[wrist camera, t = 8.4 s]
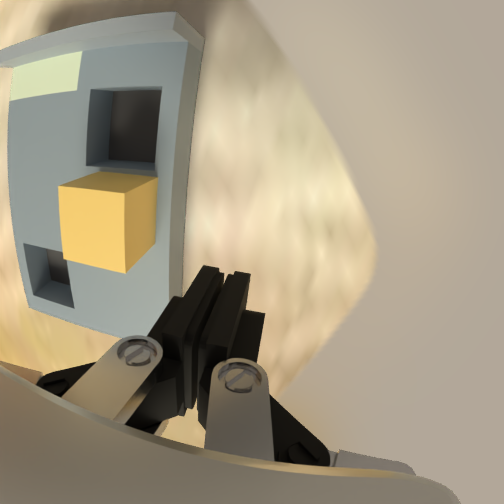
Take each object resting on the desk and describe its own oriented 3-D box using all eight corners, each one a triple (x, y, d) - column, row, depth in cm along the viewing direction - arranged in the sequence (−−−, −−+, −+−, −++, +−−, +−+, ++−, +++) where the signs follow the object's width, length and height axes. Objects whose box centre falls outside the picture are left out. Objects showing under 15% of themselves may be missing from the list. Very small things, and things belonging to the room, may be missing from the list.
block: (99, 233, 18) (63, 258, 14) (99, 171, 16) (58, 185, 13) (155, 243, 18) (125, 273, 14) (158, 177, 16) (124, 193, 13)
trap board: (47, 291, 25) (12, 322, 19) (40, 58, 16) (-9, 53, 11) (181, 326, 24) (159, 374, 19) (204, 38, 16) (175, 11, 10)
